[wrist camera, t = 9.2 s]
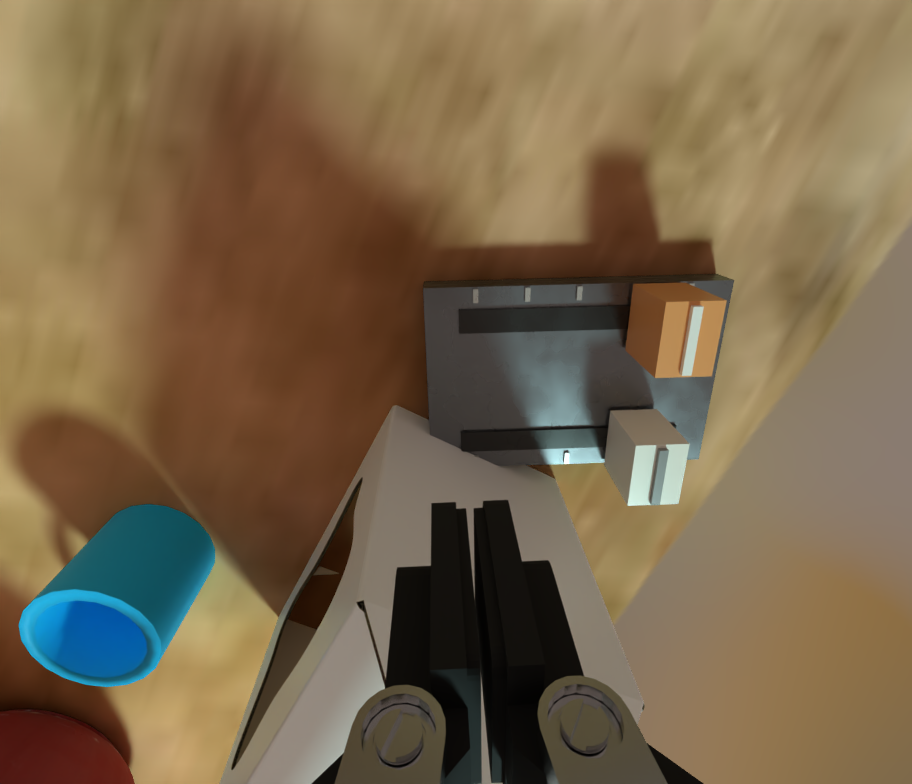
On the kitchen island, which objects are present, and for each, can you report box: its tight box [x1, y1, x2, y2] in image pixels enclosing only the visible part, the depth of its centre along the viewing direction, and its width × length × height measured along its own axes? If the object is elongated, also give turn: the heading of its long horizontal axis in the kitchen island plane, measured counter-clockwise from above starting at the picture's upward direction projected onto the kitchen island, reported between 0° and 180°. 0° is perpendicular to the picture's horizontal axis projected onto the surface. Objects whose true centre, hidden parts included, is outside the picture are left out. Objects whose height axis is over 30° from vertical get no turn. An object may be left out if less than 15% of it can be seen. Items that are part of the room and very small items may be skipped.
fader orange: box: [625, 282, 727, 378], centre depth 27 cm, size 4×3×5 cm
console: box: [423, 274, 734, 466], centre depth 32 cm, size 12×18×2 cm, turn 91°
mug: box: [19, 504, 215, 687], centre depth 35 cm, size 12×8×8 cm
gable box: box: [219, 405, 644, 784], centre depth 26 cm, size 22×13×28 cm, turn 151°
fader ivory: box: [604, 409, 690, 506], centre depth 30 cm, size 4×3×5 cm
